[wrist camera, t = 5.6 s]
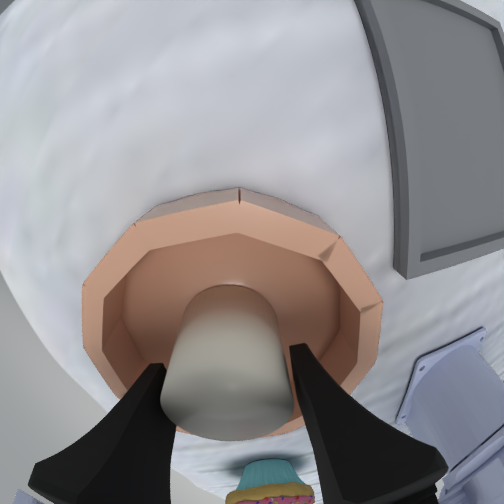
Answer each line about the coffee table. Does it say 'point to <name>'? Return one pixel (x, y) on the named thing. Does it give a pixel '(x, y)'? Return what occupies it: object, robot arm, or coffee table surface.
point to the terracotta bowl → (230, 274)
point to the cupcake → (271, 485)
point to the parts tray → (441, 128)
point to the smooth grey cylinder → (228, 368)
